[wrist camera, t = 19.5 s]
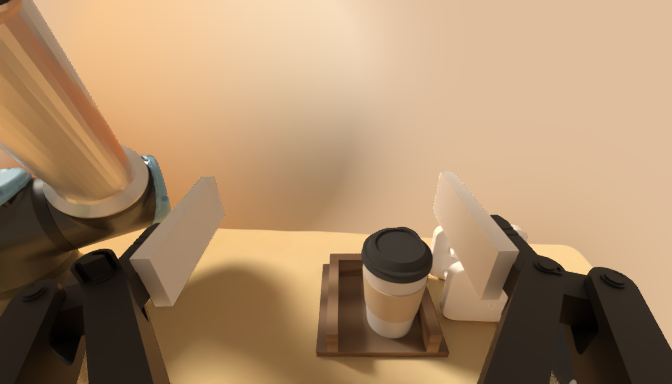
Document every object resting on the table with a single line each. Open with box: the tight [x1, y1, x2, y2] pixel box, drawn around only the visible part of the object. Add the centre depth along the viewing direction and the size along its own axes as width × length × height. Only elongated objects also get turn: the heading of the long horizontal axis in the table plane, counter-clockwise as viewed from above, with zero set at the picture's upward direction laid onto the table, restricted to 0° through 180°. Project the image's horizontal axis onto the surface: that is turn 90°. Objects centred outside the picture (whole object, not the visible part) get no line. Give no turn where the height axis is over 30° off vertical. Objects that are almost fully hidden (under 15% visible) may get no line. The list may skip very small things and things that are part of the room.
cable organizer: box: [429, 225, 528, 322], centre depth 43 cm, size 15×11×12 cm
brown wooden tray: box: [316, 254, 449, 357], centre depth 44 cm, size 16×18×5 cm
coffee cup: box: [361, 227, 433, 338], centre depth 39 cm, size 9×9×15 cm
